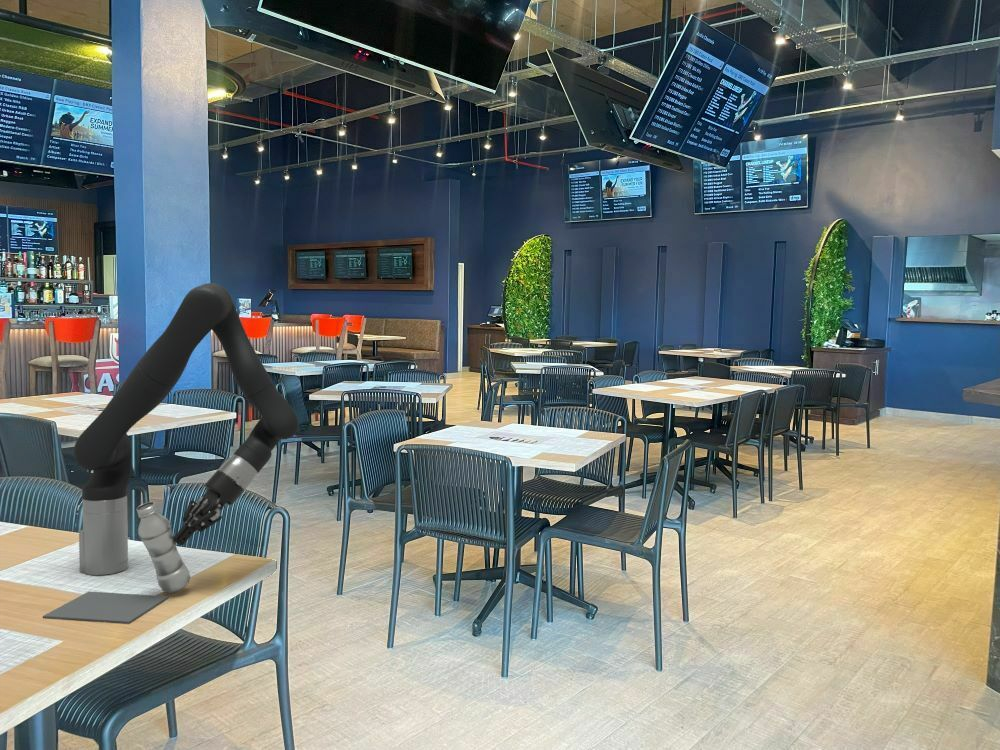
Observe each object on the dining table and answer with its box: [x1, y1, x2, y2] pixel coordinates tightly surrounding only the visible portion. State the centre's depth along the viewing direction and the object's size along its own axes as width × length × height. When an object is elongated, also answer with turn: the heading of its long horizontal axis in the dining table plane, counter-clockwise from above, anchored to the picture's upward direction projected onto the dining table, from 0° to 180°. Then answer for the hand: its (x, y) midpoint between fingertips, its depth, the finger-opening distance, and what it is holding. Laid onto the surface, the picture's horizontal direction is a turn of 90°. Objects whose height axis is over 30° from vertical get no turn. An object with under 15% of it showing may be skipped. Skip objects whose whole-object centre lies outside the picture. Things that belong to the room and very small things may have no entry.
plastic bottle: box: [136, 501, 191, 594], centre depth 163 cm, size 6×7×20 cm
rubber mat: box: [42, 591, 169, 625], centre depth 156 cm, size 18×14×1 cm
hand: (176, 542), depth 166 cm, fingers closed
